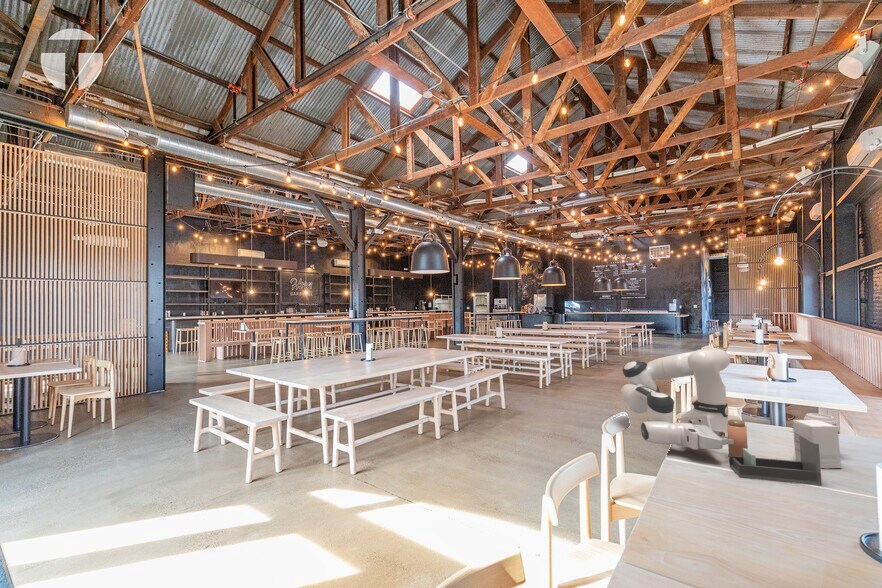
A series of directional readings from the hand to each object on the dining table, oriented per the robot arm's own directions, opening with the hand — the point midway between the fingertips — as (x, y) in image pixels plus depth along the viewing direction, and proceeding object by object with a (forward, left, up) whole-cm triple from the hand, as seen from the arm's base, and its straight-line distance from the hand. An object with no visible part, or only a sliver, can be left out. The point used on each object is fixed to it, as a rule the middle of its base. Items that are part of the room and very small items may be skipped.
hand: (728, 437), depth 153 cm
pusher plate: (+10, -12, -6) cm, 17 cm away
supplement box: (+22, +16, -8) cm, 28 cm away
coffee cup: (+21, +30, -8) cm, 38 cm away
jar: (+2, +2, -8) cm, 8 cm away
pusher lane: (+15, -8, -8) cm, 19 cm away
